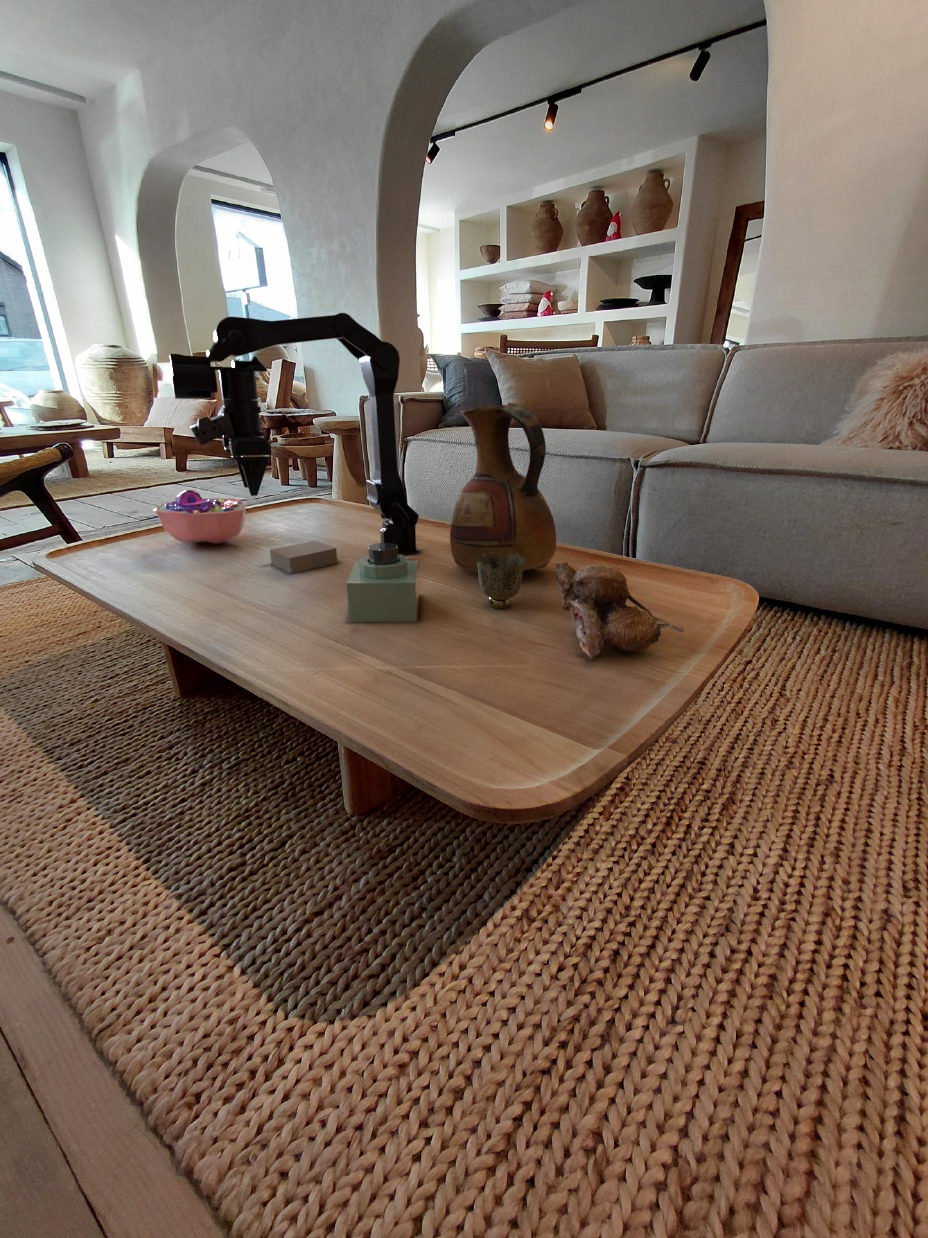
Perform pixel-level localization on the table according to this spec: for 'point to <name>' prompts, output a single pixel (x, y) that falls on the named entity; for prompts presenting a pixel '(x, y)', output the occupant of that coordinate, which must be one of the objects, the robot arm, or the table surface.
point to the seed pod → (606, 609)
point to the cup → (500, 577)
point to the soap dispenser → (383, 591)
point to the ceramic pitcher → (503, 494)
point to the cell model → (202, 518)
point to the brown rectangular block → (303, 556)
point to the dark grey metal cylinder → (383, 553)
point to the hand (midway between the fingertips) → (250, 491)
